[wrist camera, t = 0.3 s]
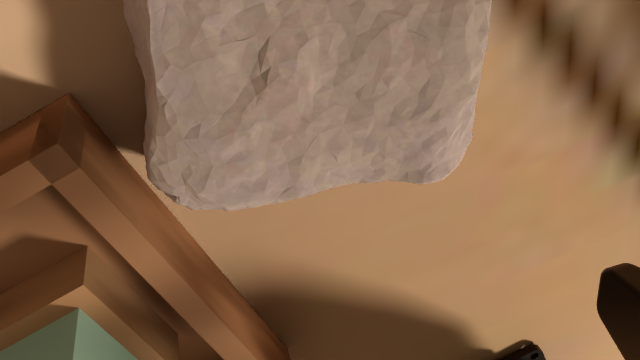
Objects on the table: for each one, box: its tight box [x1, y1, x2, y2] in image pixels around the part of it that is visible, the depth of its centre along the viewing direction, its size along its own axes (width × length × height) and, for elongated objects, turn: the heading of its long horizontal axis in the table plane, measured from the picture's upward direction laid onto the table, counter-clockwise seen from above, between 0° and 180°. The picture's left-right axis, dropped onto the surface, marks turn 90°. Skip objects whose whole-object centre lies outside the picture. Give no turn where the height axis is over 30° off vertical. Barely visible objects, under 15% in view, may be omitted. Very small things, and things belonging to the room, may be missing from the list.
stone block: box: [123, 0, 492, 211], centre depth 20 cm, size 12×5×10 cm
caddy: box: [0, 93, 290, 360], centre depth 24 cm, size 16×12×4 cm
